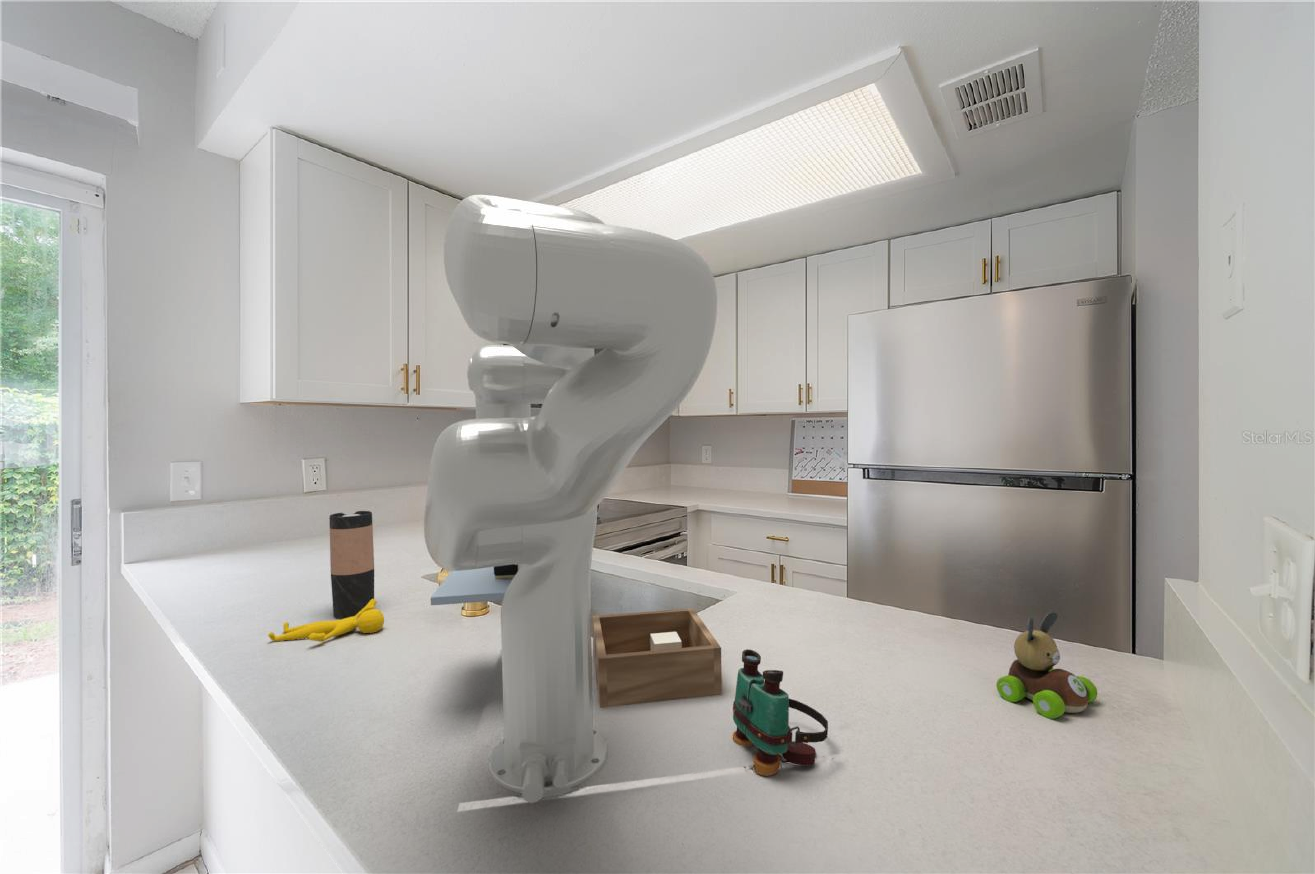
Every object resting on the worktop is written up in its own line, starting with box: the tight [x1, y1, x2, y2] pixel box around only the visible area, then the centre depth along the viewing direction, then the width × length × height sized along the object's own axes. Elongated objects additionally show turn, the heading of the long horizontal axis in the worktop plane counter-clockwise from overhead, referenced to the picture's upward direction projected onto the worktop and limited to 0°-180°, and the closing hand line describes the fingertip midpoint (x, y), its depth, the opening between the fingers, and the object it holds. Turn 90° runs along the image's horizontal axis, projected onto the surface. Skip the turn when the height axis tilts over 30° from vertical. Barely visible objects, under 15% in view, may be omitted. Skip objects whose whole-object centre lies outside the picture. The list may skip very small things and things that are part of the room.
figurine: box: [267, 598, 385, 643], centre depth 99 cm, size 14×5×18 cm
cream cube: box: [650, 632, 682, 651], centre depth 82 cm, size 4×4×4 cm
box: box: [591, 607, 723, 708], centre depth 79 cm, size 16×16×7 cm
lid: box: [430, 564, 522, 606], centre depth 78 cm, size 17×17×7 cm
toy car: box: [996, 611, 1098, 720], centre depth 71 cm, size 9×9×11 cm
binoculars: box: [732, 648, 829, 776], centre depth 61 cm, size 9×11×10 cm
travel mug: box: [329, 510, 375, 620], centre depth 110 cm, size 8×8×20 cm
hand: (507, 569), depth 78 cm, fingers closed on lid, 3 cm apart
